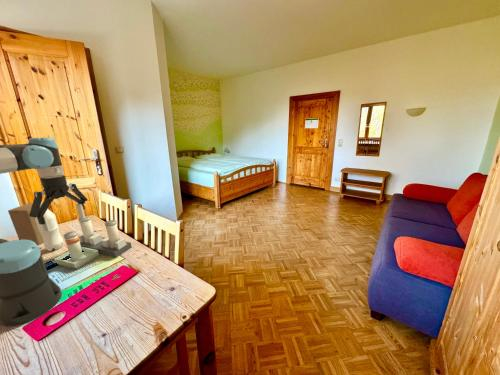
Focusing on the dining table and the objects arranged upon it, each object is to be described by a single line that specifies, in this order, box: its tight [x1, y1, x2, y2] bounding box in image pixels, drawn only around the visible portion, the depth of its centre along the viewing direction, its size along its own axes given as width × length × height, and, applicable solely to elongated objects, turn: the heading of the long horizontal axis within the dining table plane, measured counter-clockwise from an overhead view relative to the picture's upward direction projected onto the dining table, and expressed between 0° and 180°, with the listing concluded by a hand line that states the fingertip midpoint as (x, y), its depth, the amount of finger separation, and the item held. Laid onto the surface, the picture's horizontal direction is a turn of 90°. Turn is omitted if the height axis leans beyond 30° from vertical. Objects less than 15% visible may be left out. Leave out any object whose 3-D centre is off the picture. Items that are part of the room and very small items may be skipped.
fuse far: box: [77, 215, 95, 243], centre depth 103 cm, size 5×5×13 cm
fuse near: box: [104, 219, 121, 249], centre depth 99 cm, size 5×5×13 cm
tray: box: [53, 247, 101, 271], centre depth 95 cm, size 10×13×3 cm
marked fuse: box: [63, 230, 84, 262], centre depth 93 cm, size 5×5×13 cm
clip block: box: [78, 233, 132, 259], centre depth 103 cm, size 9×26×6 cm, turn 73°
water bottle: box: [35, 201, 64, 252], centre depth 101 cm, size 7×7×25 cm
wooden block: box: [7, 202, 44, 246], centre depth 110 cm, size 10×10×20 cm
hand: (66, 223), depth 89 cm, fingers open, 13 cm apart
